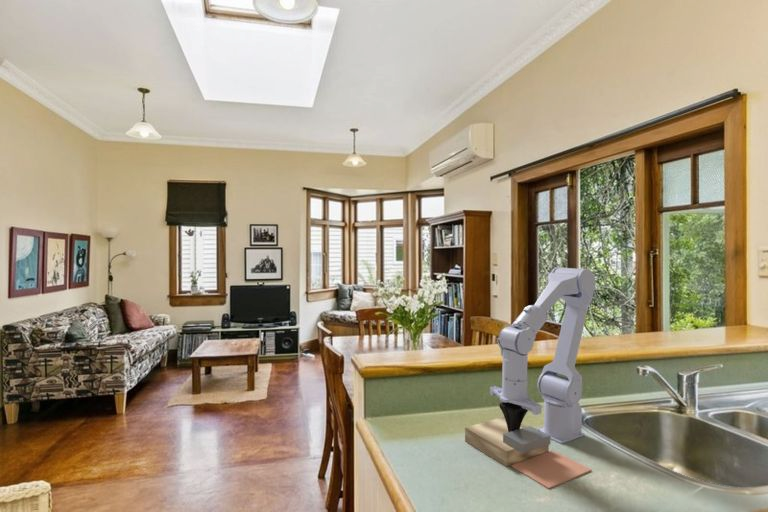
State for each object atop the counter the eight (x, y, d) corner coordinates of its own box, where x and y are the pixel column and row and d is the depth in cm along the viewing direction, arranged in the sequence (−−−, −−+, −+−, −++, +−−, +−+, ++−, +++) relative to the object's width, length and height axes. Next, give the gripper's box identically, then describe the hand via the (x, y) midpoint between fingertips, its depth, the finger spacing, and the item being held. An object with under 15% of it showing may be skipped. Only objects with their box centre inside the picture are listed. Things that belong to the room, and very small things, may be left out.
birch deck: (505, 429, 115) (505, 416, 115) (548, 451, 103) (548, 437, 103) (465, 441, 108) (465, 427, 108) (506, 466, 96) (506, 451, 96)
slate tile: (529, 433, 105) (530, 425, 105) (550, 444, 100) (550, 435, 100) (503, 442, 100) (503, 433, 100) (522, 453, 95) (523, 444, 95)
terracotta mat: (553, 451, 103) (553, 450, 103) (591, 470, 95) (591, 469, 95) (511, 466, 96) (511, 465, 96) (548, 489, 88) (548, 487, 88)
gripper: (481, 371, 107) (480, 425, 108) (526, 389, 95) (525, 450, 95) (501, 367, 111) (500, 419, 111) (548, 384, 98) (547, 442, 99)
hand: (513, 433), depth 103 cm, fingers closed
